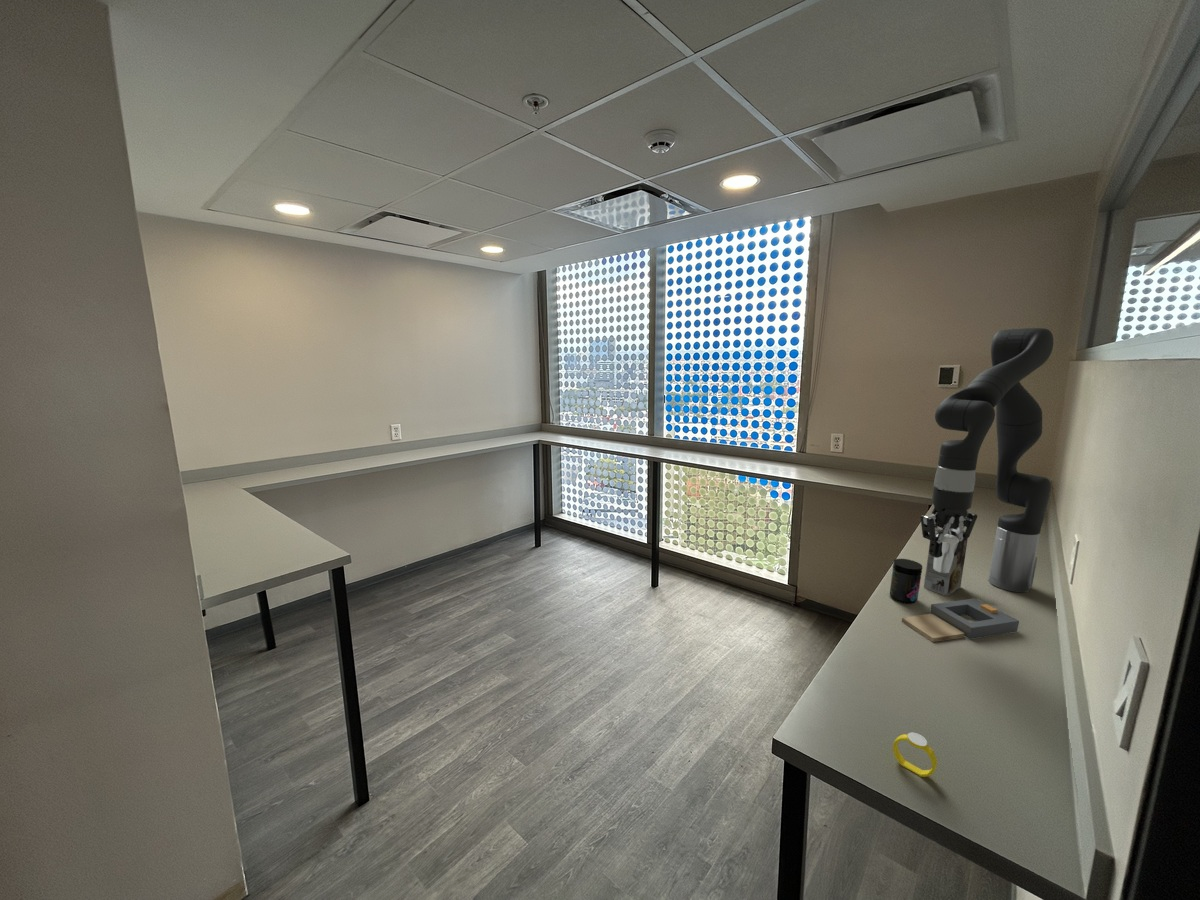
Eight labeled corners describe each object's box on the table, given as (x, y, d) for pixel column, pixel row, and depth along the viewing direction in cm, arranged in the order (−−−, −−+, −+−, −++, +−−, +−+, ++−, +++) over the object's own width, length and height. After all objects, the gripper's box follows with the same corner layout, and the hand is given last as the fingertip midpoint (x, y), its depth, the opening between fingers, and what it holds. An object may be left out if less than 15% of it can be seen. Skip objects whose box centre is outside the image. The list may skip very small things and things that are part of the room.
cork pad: (931, 617, 123) (931, 613, 123) (964, 637, 115) (964, 633, 115) (901, 621, 122) (902, 617, 121) (932, 642, 113) (933, 638, 113)
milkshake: (954, 569, 116) (961, 530, 114) (951, 576, 112) (959, 536, 110) (931, 563, 118) (938, 525, 116) (928, 570, 115) (935, 530, 113)
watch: (934, 777, 78) (943, 747, 76) (929, 786, 76) (937, 756, 75) (894, 751, 82) (901, 723, 81) (888, 760, 81) (895, 731, 79)
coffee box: (936, 579, 144) (943, 528, 141) (961, 587, 139) (969, 534, 135) (922, 587, 139) (929, 535, 136) (947, 596, 134) (956, 542, 130)
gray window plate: (974, 608, 127) (976, 595, 127) (1017, 631, 117) (1019, 617, 116) (929, 614, 125) (931, 601, 124) (969, 639, 114) (972, 624, 113)
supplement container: (902, 606, 129) (907, 570, 127) (883, 594, 135) (887, 559, 133) (923, 603, 130) (928, 567, 128) (903, 591, 137) (908, 557, 135)
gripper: (963, 480, 116) (953, 546, 119) (914, 483, 113) (904, 551, 116) (994, 488, 109) (982, 559, 112) (942, 492, 106) (931, 564, 109)
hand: (943, 555), depth 114 cm, fingers closed on milkshake, 4 cm apart
